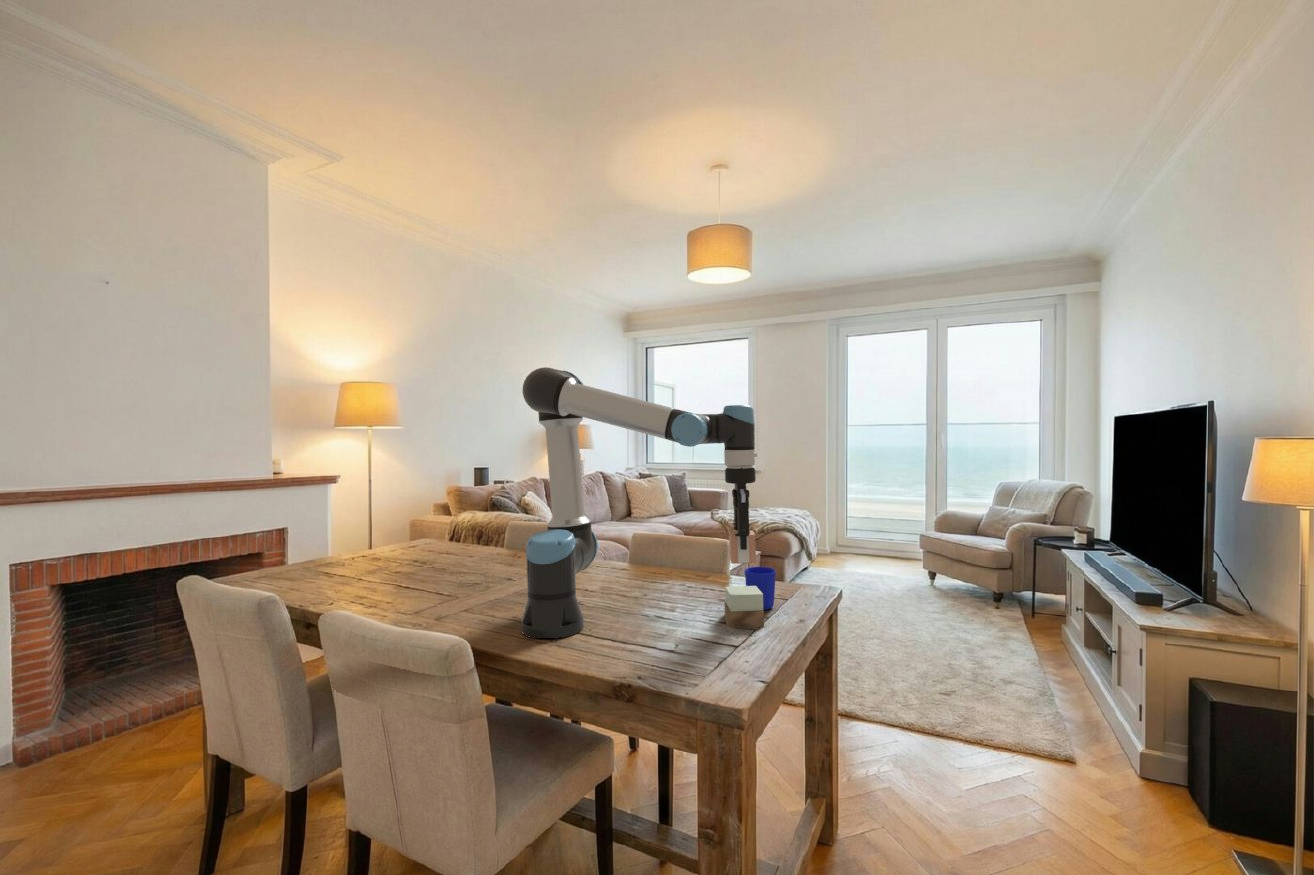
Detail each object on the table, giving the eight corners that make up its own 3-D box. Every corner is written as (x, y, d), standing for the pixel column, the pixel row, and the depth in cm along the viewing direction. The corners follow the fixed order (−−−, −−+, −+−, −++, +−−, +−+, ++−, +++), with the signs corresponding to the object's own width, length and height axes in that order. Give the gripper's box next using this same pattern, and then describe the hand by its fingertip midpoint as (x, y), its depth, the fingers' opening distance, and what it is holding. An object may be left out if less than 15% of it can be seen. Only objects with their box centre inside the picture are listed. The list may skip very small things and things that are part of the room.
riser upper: (730, 611, 146) (730, 595, 146) (725, 602, 154) (725, 586, 154) (763, 610, 146) (763, 594, 146) (756, 601, 154) (756, 585, 154)
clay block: (731, 563, 147) (730, 535, 147) (729, 558, 153) (728, 530, 153) (756, 563, 147) (755, 534, 147) (753, 557, 153) (752, 530, 153)
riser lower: (726, 628, 146) (726, 612, 146) (724, 616, 155) (724, 601, 155) (763, 628, 145) (763, 611, 145) (759, 616, 154) (759, 601, 154)
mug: (773, 598, 168) (772, 563, 168) (777, 612, 156) (777, 574, 156) (744, 598, 169) (743, 563, 169) (746, 611, 157) (745, 573, 157)
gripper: (760, 469, 140) (762, 568, 140) (750, 464, 159) (752, 551, 159) (727, 470, 140) (730, 568, 140) (722, 464, 159) (724, 551, 159)
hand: (742, 559), depth 150 cm, fingers closed on clay block, 6 cm apart
